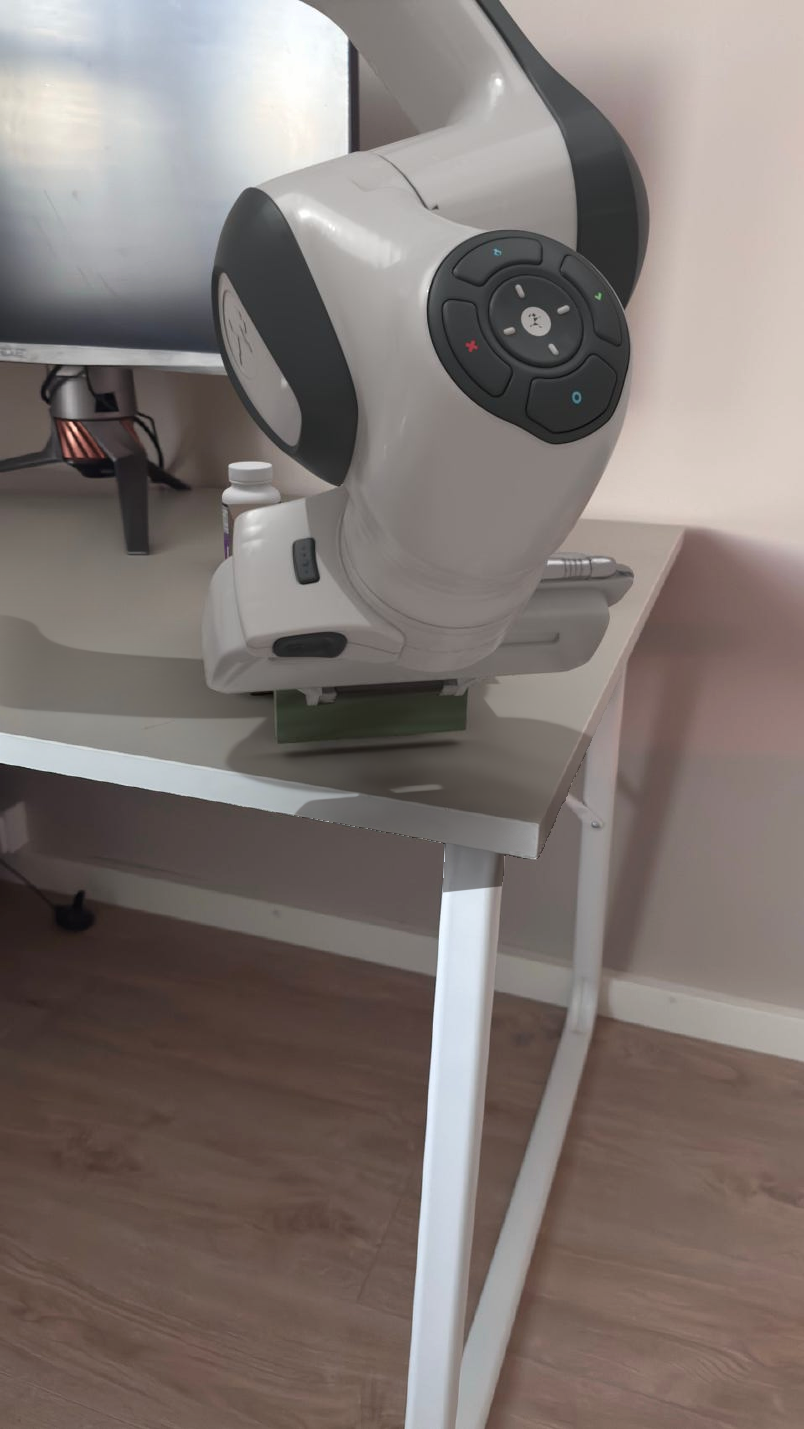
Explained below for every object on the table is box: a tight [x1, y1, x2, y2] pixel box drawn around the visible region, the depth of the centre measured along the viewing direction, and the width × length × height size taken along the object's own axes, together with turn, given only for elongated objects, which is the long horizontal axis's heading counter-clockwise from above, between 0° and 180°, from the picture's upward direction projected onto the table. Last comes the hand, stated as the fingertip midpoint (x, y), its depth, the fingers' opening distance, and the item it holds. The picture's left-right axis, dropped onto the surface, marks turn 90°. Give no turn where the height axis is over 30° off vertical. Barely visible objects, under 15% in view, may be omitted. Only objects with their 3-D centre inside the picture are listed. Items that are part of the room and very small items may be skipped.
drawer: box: [273, 680, 469, 745], centre depth 67 cm, size 18×12×8 cm, turn 13°
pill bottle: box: [221, 461, 282, 561], centre depth 100 cm, size 5×5×10 cm
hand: (382, 688), depth 61 cm, fingers closed on drawer, 6 cm apart
